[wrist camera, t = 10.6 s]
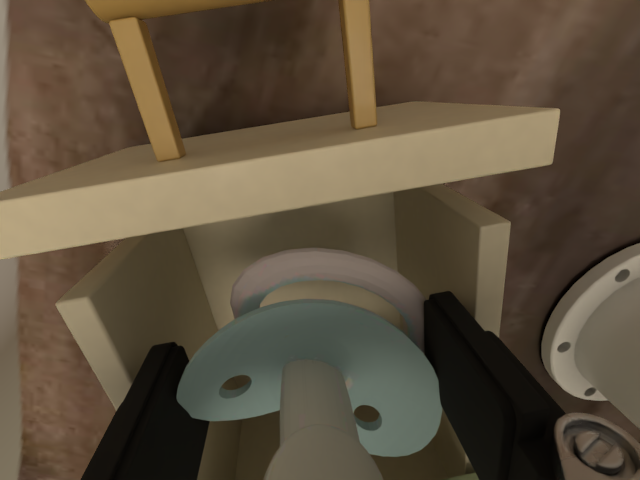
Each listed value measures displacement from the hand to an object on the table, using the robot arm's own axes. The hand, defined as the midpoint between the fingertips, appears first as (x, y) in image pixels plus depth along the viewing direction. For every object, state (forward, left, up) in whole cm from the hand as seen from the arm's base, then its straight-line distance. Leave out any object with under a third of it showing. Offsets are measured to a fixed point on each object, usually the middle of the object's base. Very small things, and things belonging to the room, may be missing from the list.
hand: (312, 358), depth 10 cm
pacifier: (0, 0, -1) cm, 1 cm away
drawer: (0, -1, -8) cm, 8 cm away
